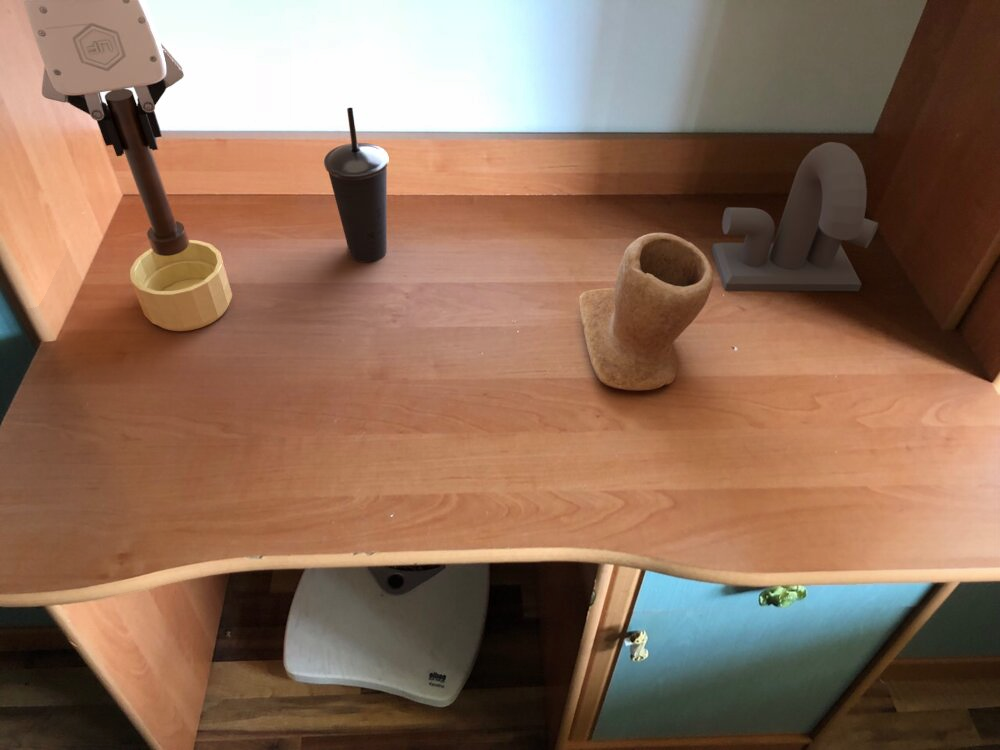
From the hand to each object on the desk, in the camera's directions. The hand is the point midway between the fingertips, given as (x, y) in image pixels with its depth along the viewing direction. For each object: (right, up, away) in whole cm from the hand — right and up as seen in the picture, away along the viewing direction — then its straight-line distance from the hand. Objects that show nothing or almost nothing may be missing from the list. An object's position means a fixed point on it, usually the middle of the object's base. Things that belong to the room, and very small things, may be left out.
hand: (136, 145), depth 81 cm
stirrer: (0, -9, +9) cm, 13 cm away
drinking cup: (+20, -7, +23) cm, 32 cm away
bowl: (0, -15, +15) cm, 21 cm away
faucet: (+74, -13, +20) cm, 78 cm away
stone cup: (+53, -21, +11) cm, 58 cm away
